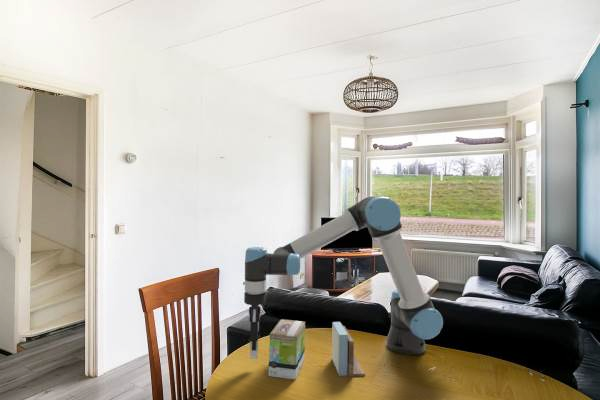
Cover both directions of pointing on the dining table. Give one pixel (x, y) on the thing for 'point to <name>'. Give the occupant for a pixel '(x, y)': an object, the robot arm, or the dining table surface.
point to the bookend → (353, 359)
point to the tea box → (287, 349)
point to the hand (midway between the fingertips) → (253, 357)
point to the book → (339, 348)
